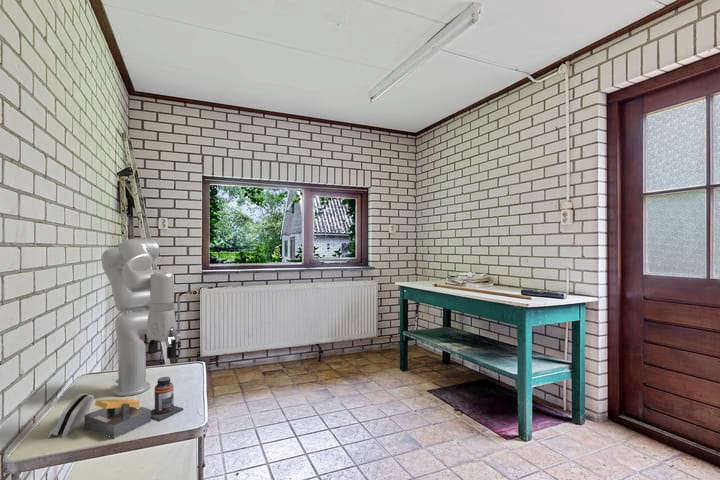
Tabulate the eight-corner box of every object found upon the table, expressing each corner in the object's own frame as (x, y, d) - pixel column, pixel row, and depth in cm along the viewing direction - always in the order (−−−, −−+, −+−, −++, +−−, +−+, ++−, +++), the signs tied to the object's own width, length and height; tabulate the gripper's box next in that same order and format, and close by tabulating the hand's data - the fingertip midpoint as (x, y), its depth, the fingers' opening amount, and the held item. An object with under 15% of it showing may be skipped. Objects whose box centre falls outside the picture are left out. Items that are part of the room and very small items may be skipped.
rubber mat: (143, 415, 129) (142, 413, 129) (166, 405, 137) (166, 403, 137) (160, 420, 125) (160, 419, 125) (183, 409, 133) (183, 408, 133)
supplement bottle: (154, 409, 133) (154, 377, 133) (173, 405, 136) (172, 374, 136) (154, 415, 128) (154, 382, 128) (174, 411, 131) (173, 379, 131)
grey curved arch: (71, 414, 131) (82, 386, 132) (86, 417, 132) (97, 389, 133) (46, 439, 115) (59, 406, 116) (63, 442, 116) (76, 410, 117)
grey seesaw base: (84, 427, 121) (84, 405, 121) (121, 412, 132) (121, 391, 132) (114, 438, 114) (113, 415, 114) (151, 421, 125) (150, 399, 125)
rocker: (94, 405, 120) (96, 400, 120) (127, 402, 129) (128, 398, 130) (106, 408, 117) (107, 403, 117) (138, 406, 126) (140, 401, 127)
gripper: (136, 306, 132) (136, 354, 132) (169, 311, 124) (169, 362, 125) (156, 303, 139) (156, 348, 139) (188, 307, 131) (188, 356, 131)
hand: (162, 355), depth 132 cm, fingers open, 9 cm apart
